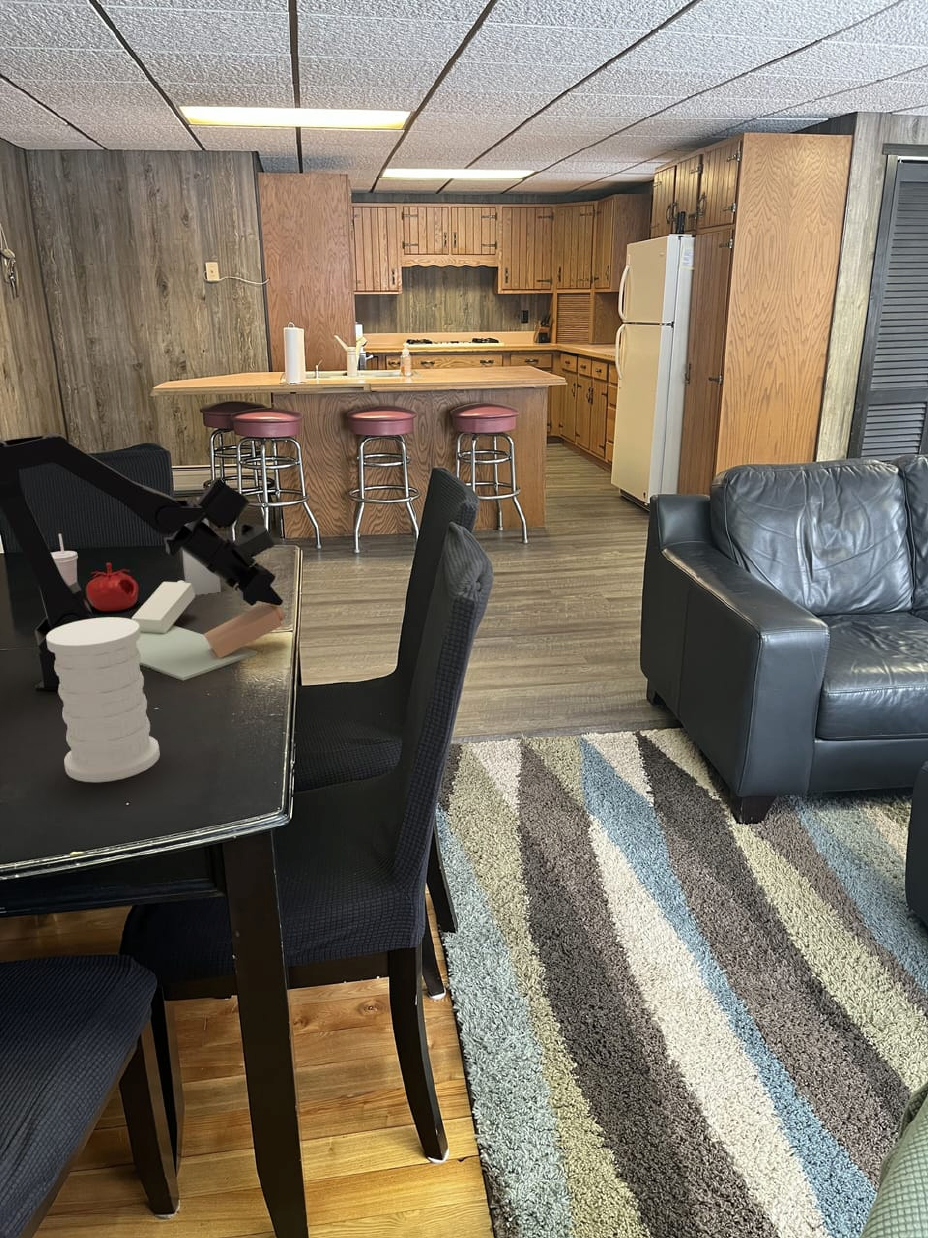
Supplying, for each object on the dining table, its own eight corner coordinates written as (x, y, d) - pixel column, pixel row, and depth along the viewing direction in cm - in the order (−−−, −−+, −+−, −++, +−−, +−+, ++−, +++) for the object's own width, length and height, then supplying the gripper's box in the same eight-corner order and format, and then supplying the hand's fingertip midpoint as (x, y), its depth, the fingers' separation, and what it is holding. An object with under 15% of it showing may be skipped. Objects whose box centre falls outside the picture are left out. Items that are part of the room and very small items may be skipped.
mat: (183, 680, 142) (182, 677, 142) (86, 644, 159) (85, 642, 159) (257, 654, 153) (256, 651, 153) (158, 623, 170) (158, 620, 170)
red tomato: (86, 618, 175) (78, 572, 172) (92, 603, 184) (84, 560, 181) (139, 612, 178) (132, 567, 174) (142, 598, 187) (135, 555, 184)
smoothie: (72, 604, 183) (61, 537, 179) (44, 602, 185) (33, 536, 180) (90, 595, 189) (80, 531, 185) (63, 594, 191) (53, 530, 186)
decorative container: (170, 740, 121) (154, 615, 116) (144, 781, 110) (125, 645, 105) (85, 742, 121) (64, 617, 116) (50, 784, 110) (26, 647, 104)
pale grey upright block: (221, 592, 190) (216, 546, 187) (188, 596, 188) (183, 550, 185) (218, 588, 193) (213, 543, 190) (186, 591, 191) (181, 546, 188)
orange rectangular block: (211, 644, 148) (281, 607, 153) (203, 634, 153) (271, 598, 158) (219, 658, 150) (288, 621, 154) (211, 648, 155) (278, 612, 159)
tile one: (160, 620, 161) (194, 579, 171) (131, 618, 163) (166, 578, 173) (165, 633, 163) (198, 592, 173) (136, 631, 164) (171, 590, 174)
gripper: (257, 522, 140) (328, 579, 149) (227, 503, 156) (293, 556, 164) (212, 577, 139) (286, 631, 147) (187, 552, 155) (255, 603, 163)
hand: (281, 603), depth 156 cm, fingers closed
